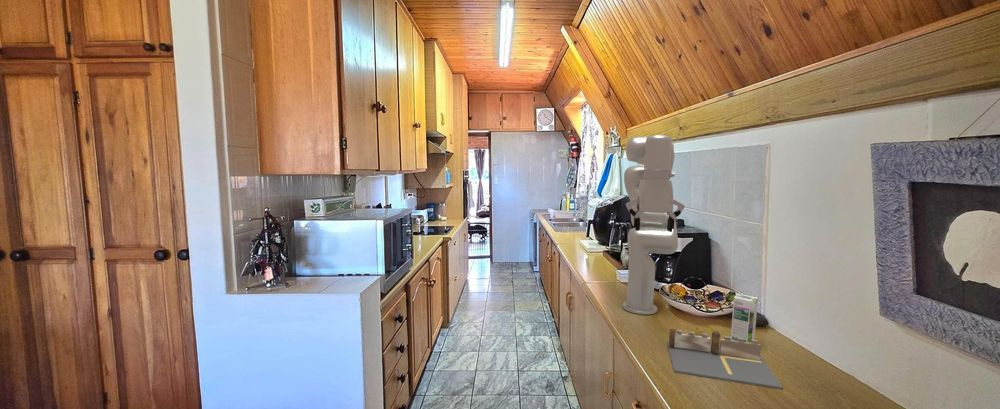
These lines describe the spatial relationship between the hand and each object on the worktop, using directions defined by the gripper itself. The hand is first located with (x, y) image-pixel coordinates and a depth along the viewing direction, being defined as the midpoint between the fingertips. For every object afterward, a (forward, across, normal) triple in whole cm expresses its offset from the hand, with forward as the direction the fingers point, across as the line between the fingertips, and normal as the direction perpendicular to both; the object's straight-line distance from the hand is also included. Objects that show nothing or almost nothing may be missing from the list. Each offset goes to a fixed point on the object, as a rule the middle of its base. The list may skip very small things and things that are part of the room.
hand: (653, 230), depth 122 cm
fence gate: (+34, -10, +8) cm, 36 cm away
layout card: (+35, -16, +14) cm, 41 cm away
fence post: (+35, -22, +10) cm, 42 cm away
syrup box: (+35, -29, -2) cm, 46 cm away
